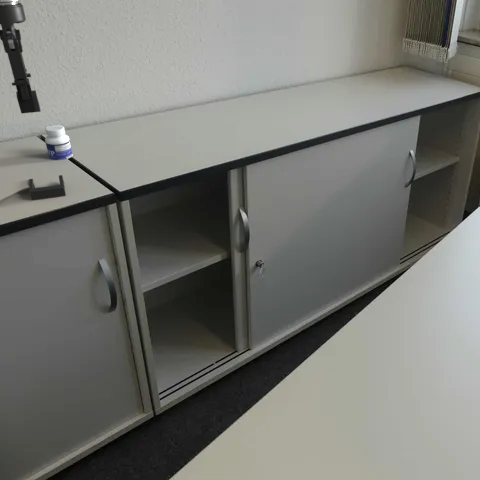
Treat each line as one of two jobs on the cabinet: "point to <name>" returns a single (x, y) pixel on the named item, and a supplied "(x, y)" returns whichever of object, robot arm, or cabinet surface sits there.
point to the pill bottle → (58, 143)
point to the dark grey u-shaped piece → (47, 190)
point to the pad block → (33, 100)
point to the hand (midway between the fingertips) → (29, 108)
